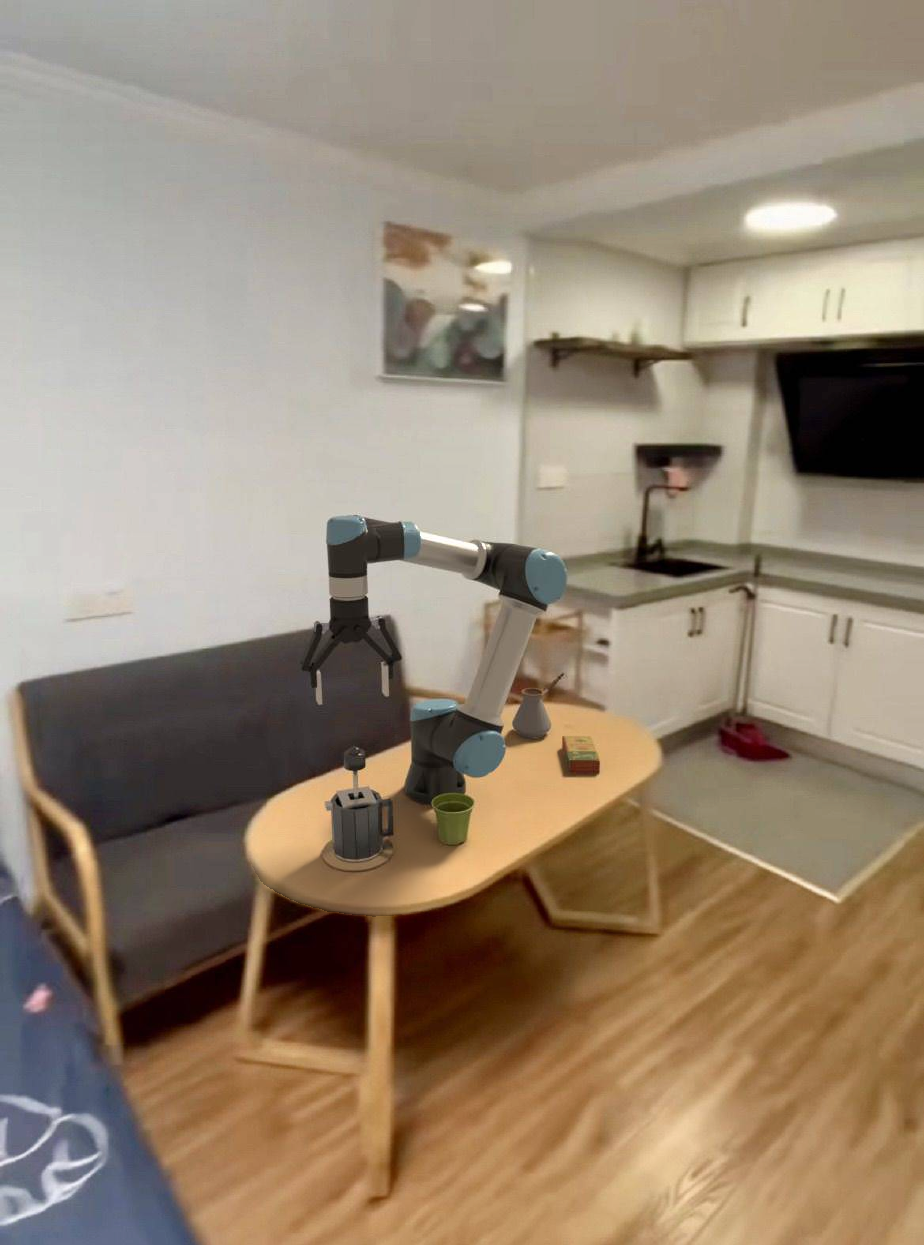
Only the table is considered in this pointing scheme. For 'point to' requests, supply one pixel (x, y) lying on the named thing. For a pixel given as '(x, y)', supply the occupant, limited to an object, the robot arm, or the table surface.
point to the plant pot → (453, 816)
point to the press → (359, 831)
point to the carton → (580, 754)
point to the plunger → (354, 765)
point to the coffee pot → (533, 713)
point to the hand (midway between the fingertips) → (352, 698)
